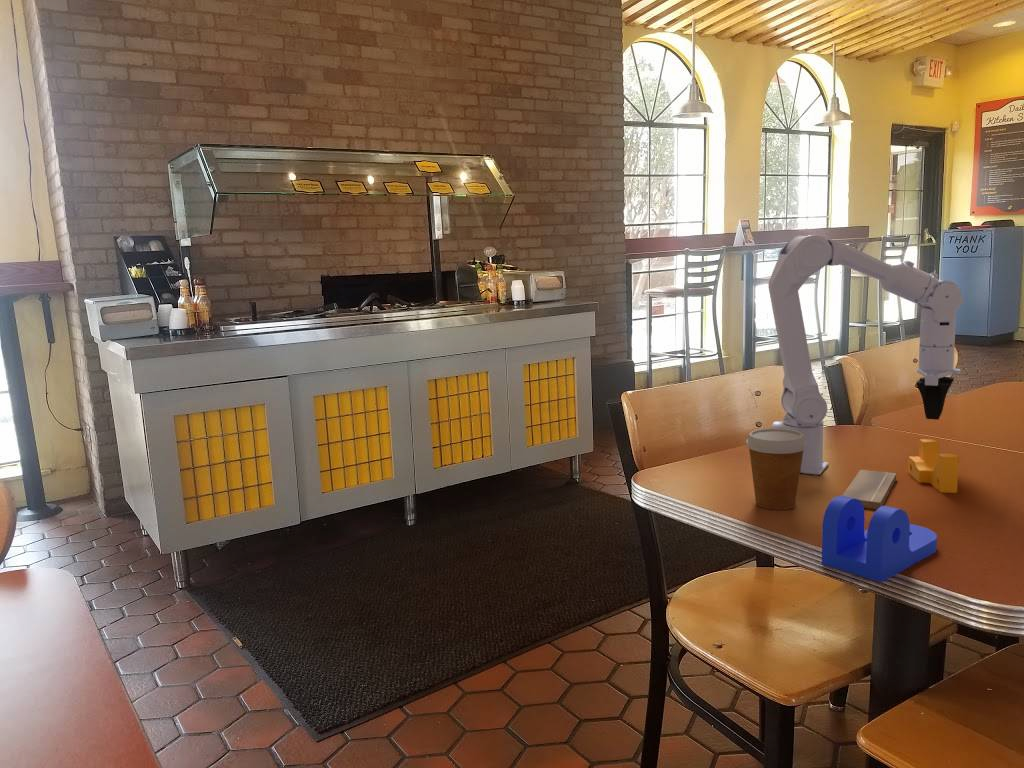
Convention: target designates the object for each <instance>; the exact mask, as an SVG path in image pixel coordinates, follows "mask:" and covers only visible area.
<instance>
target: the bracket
mask: <svg viewBox="0 0 1024 768" xmlns="http://www.w3.org/2000/svg"><path fill="white" fill-rule="evenodd" d="M842 495H843V494H840V495H837V496H835V497H833V498H832V499H831V500H830V502H829V503H828V505H827V506H826V509H825V512H824V515H823V519H822V532H821V533H822V534H821V535H822V536H821V540H822V541H821V543H822V544H821V546H822V547H821V564H822V565H823V566H824V565H825V566H827V567H830V568H834V569H837V570H840V571H842V572H843V571H844V572H847V573H849V574H853V575H856V576H859V577H863V578H864V579H869V580H872V581H874V582H875V581H876V582H879V583H884V582H885V581H887V580H889V579H890V578H892V577H894V576H895V575H897V574H899V573H901V572H903V571H905V570H906V569H909V568H910V567H912V566H914V565H915V563H916V562H917V563H919V562H921V561H923V560H924V558H925V559H926V558H929V557H930V556H932V555H933V553H934V554H935V553H936V552H937V549H938V547H937V546H938V545H937V542H938V536H937V534H936V533H935V532H934V531H933V530H931V529H929V528H927V527H924V526H921V525H916V524H912V523H910V519H909V515H908V513H907V512H906V511H905V510H904V509H901V508H897V507H892V506H888V505H882V506H881V507H880V508H878V509H875V510H876V511H874V513H873V515H872V516H871V518H870V521H869V523H868V526H867V527H868V528H867V529H865V519H866V518H865V508H863V505H862V503H861V502H860V501H859V500H858V499H855V498H850V497H846V496H842ZM922 559H923V560H922ZM920 560H921V561H920ZM917 563H916V564H917ZM913 564H914V565H913ZM911 565H912V566H911Z"/></svg>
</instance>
